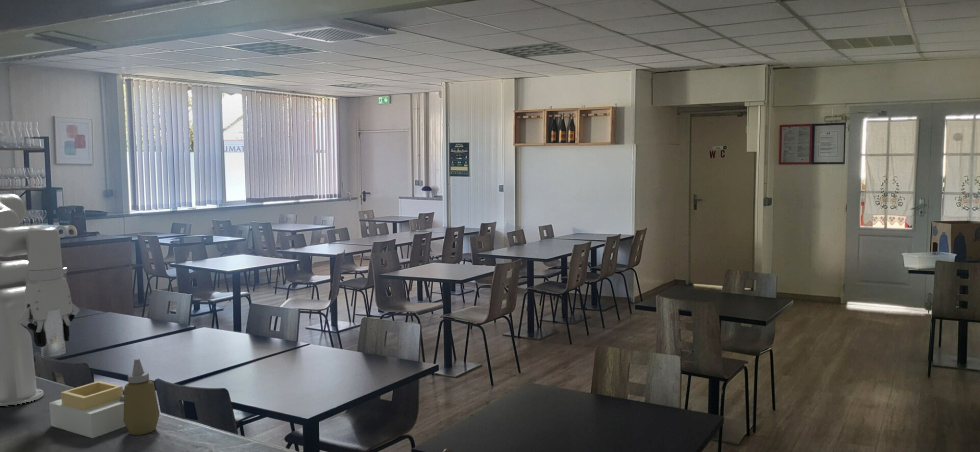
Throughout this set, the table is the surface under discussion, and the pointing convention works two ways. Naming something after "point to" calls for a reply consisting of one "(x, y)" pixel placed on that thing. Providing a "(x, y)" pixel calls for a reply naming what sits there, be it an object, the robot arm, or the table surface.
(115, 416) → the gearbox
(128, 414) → the squeeze bottle
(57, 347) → the spout can
